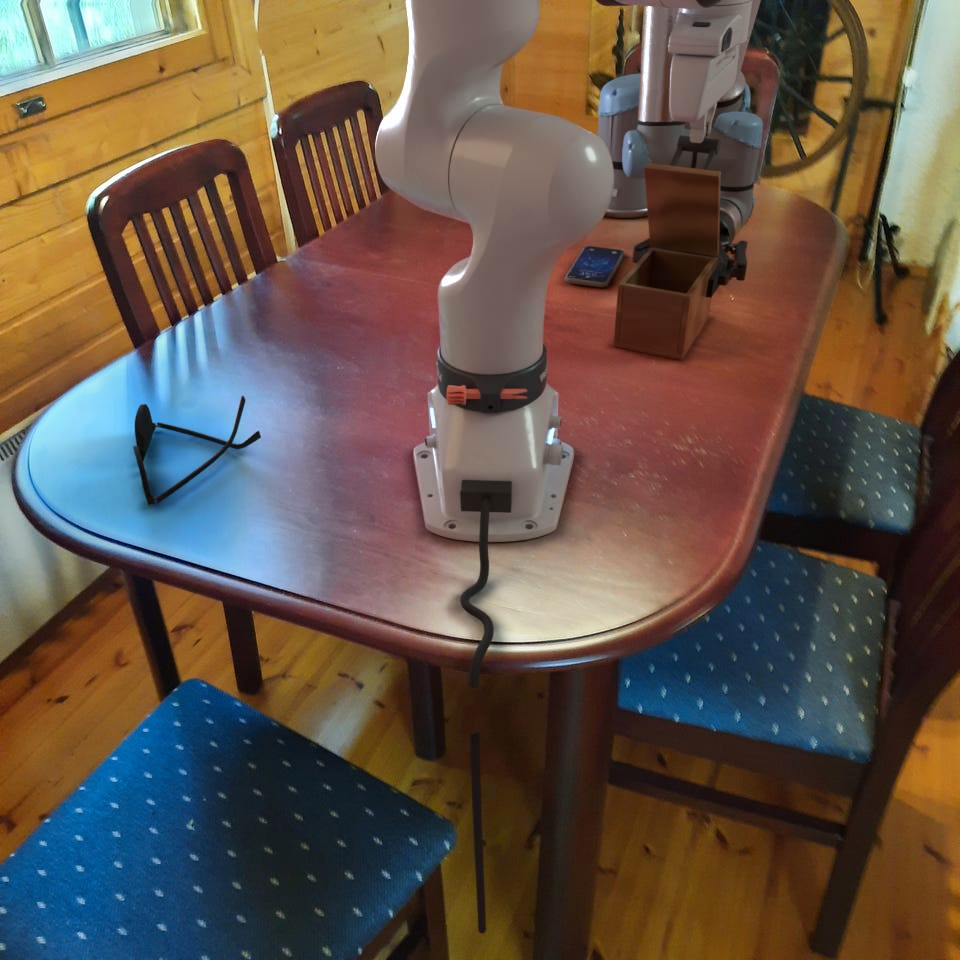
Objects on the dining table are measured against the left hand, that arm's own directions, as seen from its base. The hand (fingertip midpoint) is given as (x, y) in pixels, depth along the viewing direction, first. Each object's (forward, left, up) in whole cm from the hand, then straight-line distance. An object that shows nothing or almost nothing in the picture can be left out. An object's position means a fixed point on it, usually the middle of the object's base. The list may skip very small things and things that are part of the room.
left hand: (699, 138), depth 116 cm
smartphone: (+15, +12, -25) cm, 32 cm away
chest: (-8, +4, -25) cm, 27 cm away
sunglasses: (-40, +62, -25) cm, 78 cm away
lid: (-4, +2, -9) cm, 10 cm away
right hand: (-5, +2, -19) cm, 19 cm away
